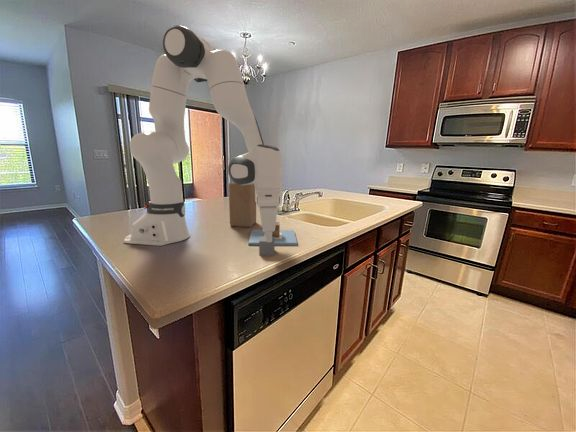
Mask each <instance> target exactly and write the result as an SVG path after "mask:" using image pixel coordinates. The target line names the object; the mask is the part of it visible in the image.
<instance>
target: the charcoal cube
mask: <svg viewBox="0 0 576 432" xmlns="http://www.w3.org/2000/svg"><path fill="white" fill-rule="evenodd" d="M274 243H275V237H272V242H267V241H266V237H260V240H259V245H258V248H259V249H258V251H259V252H258V253H259V254H258V255H259V256H275V245H274Z"/></svg>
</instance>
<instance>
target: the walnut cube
mask: <svg viewBox="0 0 576 432" xmlns="http://www.w3.org/2000/svg"><path fill="white" fill-rule="evenodd" d="M280 225H281V224H280V221H276V227H275V231H274V232H272V237H275V238H279V234H280V230H281V226H280Z"/></svg>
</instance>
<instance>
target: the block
mask: <svg viewBox="0 0 576 432" xmlns="http://www.w3.org/2000/svg"><path fill="white" fill-rule="evenodd" d="M228 203H229V205H228V206H229V209H228V210H229V225H230V226H231V227H238V228H239V227H242V228H250V227H252V226H254V224H255V223H257V203H256V202H255V185H254V184H250V185H238V184H235V183H234V182H233V181H232V182H229V183H228Z"/></svg>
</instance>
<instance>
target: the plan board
mask: <svg viewBox="0 0 576 432" xmlns="http://www.w3.org/2000/svg"><path fill="white" fill-rule="evenodd" d="M260 237H266V232H264V231H263V229H251V232H250V235H249V239H248V244H247V245H248V246H259V240H260ZM274 246H298V242H297V237H296V233H295V230H294V229H280V234H279V238H275V243H274Z"/></svg>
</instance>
